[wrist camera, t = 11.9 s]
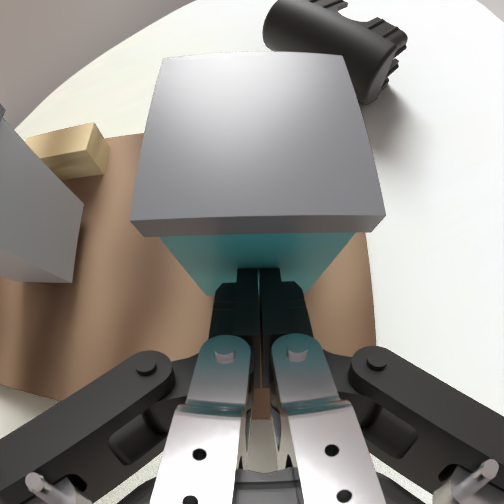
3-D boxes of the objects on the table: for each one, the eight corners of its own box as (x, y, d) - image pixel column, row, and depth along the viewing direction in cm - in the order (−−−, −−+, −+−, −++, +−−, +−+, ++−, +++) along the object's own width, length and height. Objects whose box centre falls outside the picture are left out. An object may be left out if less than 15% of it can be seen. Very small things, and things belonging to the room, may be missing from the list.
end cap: (260, 64, 25) (261, 2, 18) (307, 37, 26) (314, -17, 20) (355, 123, 22) (380, 59, 16) (393, 86, 24) (416, 32, 18)
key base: (-3, 379, 16) (-44, 377, 12) (28, 164, 22) (1, 136, 18) (368, 404, 16) (400, 416, 12) (340, 140, 22) (355, 98, 17)
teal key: (202, 299, 16) (129, 220, 6) (205, 202, 17) (162, 58, 8) (310, 297, 16) (385, 215, 6) (302, 200, 17) (342, 55, 8)
